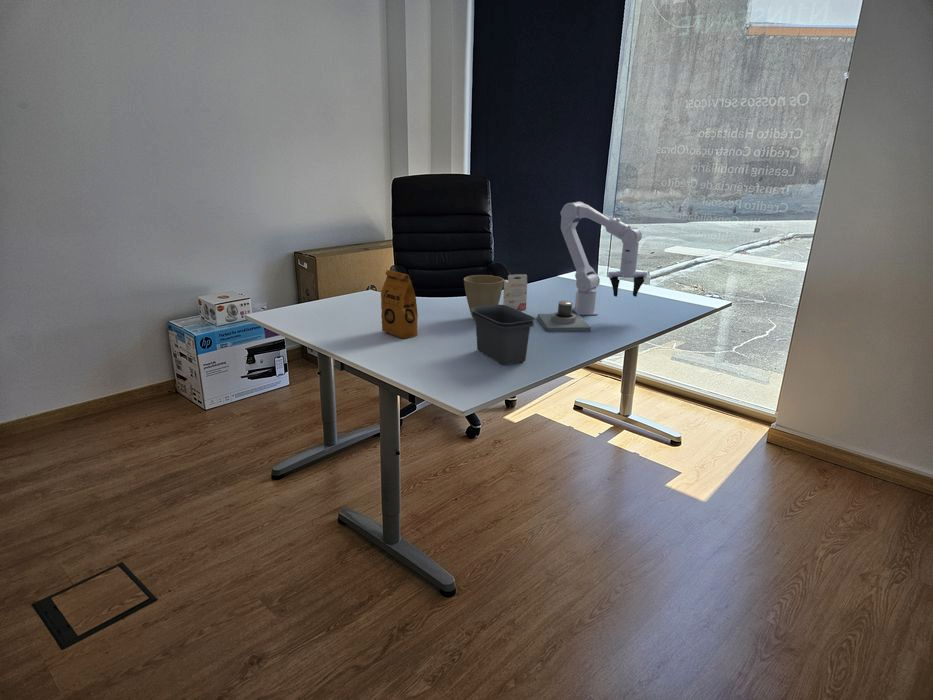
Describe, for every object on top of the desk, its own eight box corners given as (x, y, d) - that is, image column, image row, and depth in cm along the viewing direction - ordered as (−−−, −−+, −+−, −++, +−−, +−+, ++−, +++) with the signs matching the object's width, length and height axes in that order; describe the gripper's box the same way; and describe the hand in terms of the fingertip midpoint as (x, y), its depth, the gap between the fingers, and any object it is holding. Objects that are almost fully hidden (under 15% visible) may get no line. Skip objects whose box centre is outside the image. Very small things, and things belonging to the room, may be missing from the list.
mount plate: (537, 317, 234) (538, 308, 233) (577, 317, 235) (578, 308, 234) (547, 331, 217) (548, 322, 216) (590, 331, 218) (591, 322, 217)
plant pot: (499, 314, 237) (501, 274, 231) (504, 325, 223) (506, 283, 217) (461, 314, 235) (462, 274, 230) (464, 325, 221) (465, 283, 216)
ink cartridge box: (521, 306, 249) (523, 271, 244) (526, 309, 244) (528, 274, 239) (502, 307, 247) (503, 272, 242) (506, 310, 242) (508, 275, 237)
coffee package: (399, 341, 203) (398, 277, 195) (378, 332, 211) (376, 271, 204) (422, 335, 209) (422, 273, 202) (400, 327, 218) (399, 267, 210)
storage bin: (465, 349, 197) (466, 307, 192) (505, 342, 204) (507, 302, 199) (500, 370, 179) (502, 324, 175) (542, 362, 187) (545, 318, 182)
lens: (555, 318, 228) (557, 300, 225) (568, 318, 228) (570, 300, 226) (558, 322, 223) (560, 304, 220) (572, 322, 223) (574, 304, 221)
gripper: (613, 262, 222) (609, 298, 227) (651, 263, 223) (647, 298, 228) (607, 259, 229) (604, 294, 233) (644, 259, 230) (640, 294, 235)
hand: (624, 296), depth 231 cm, fingers open, 7 cm apart
